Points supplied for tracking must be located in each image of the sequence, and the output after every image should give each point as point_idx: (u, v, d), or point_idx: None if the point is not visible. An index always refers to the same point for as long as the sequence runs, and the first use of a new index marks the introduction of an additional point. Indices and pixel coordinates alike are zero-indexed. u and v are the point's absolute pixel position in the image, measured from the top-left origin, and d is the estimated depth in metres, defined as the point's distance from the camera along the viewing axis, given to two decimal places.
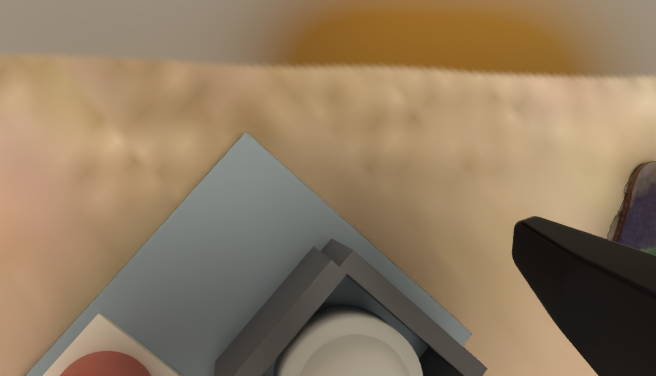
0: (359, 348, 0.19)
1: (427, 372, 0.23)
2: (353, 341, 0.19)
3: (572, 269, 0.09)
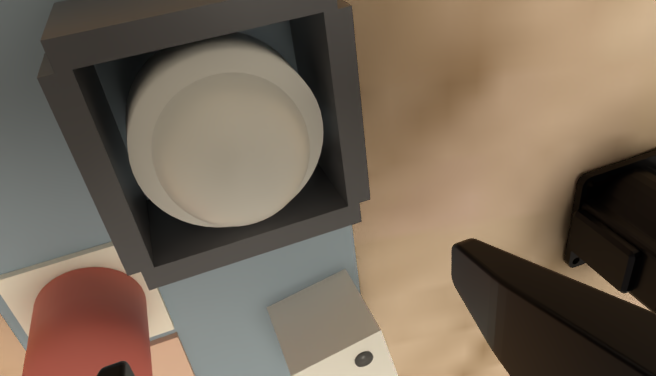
0: (173, 128, 0.13)
1: (299, 21, 0.17)
2: (165, 122, 0.14)
3: (502, 296, 0.09)
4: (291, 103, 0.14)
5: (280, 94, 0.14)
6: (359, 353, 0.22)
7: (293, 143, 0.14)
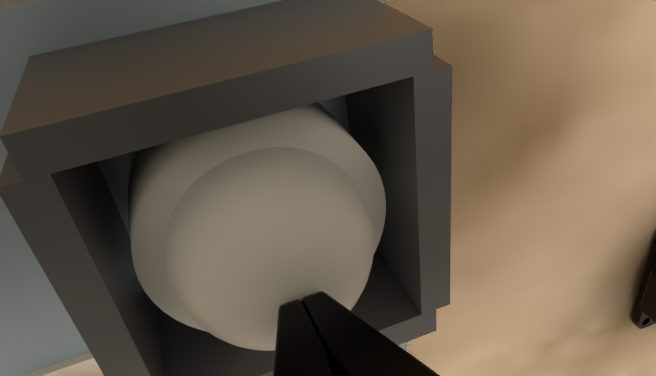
0: (195, 232, 0.10)
1: None
2: (183, 220, 0.10)
3: (331, 362, 0.08)
4: (352, 187, 0.11)
5: (338, 177, 0.10)
6: None
7: (358, 246, 0.10)
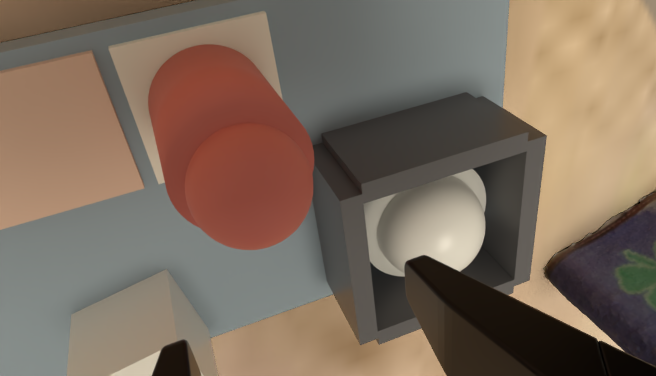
0: (473, 197, 0.20)
1: None
2: (467, 188, 0.21)
3: (448, 317, 0.08)
4: None
5: None
6: None
7: None
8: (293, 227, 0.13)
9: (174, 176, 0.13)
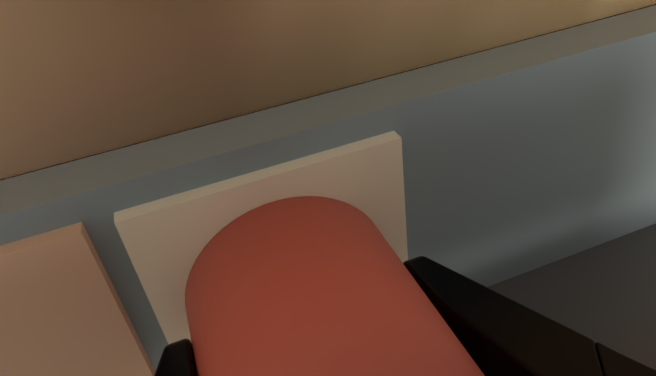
0: None
1: None
2: None
3: (445, 318, 0.08)
4: None
5: None
6: None
7: None
8: None
9: None
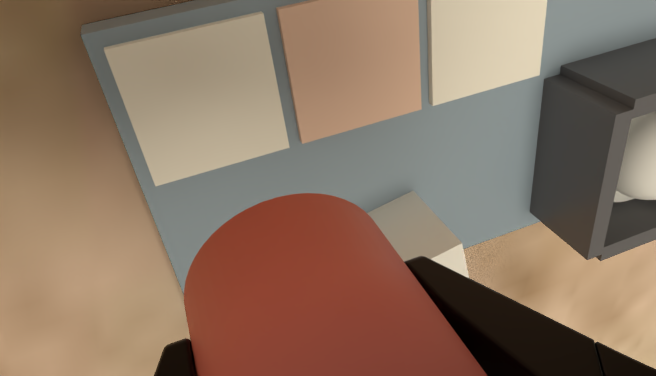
0: None
1: None
2: None
3: None
4: None
5: None
6: None
7: None
8: None
9: None
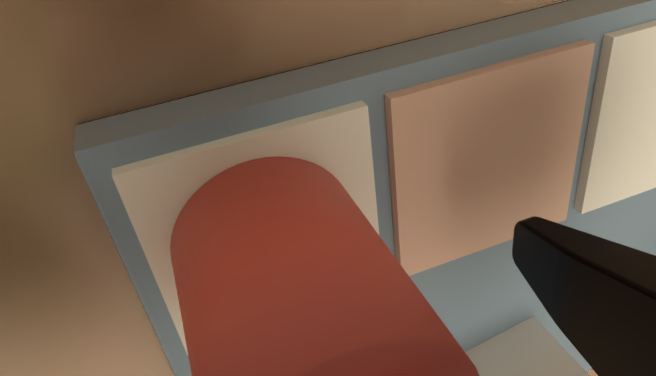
0: None
1: None
2: None
3: (572, 269, 0.09)
4: None
5: None
6: None
7: None
8: None
9: None
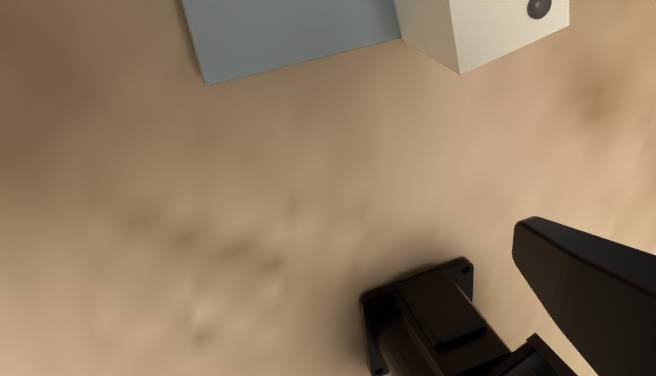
0: None
1: None
2: None
3: (572, 269, 0.09)
4: None
5: None
6: None
7: None
8: None
9: None
